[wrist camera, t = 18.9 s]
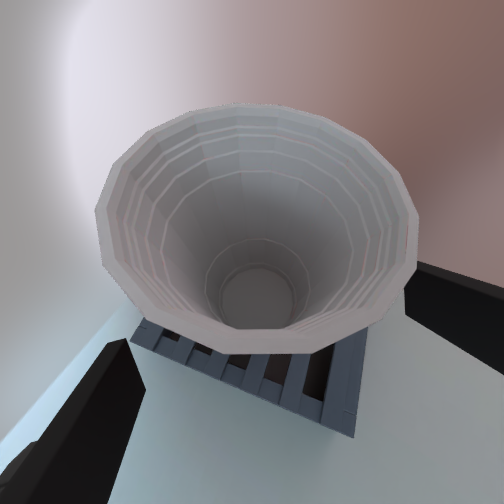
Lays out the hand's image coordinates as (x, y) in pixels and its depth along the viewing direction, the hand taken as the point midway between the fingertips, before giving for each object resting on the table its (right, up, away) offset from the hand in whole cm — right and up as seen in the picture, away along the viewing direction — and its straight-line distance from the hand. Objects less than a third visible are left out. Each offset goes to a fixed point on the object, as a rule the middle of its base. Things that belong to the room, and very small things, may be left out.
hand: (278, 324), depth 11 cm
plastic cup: (-1, -1, +7) cm, 7 cm away
